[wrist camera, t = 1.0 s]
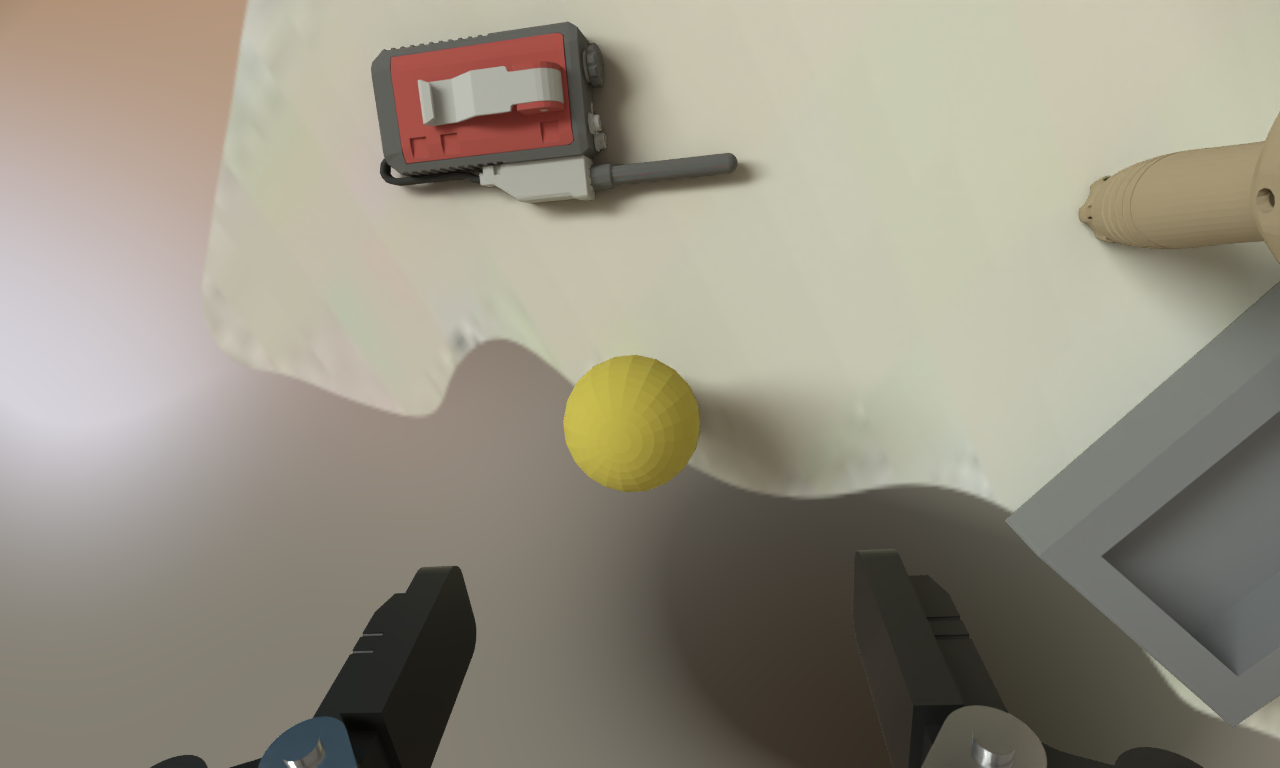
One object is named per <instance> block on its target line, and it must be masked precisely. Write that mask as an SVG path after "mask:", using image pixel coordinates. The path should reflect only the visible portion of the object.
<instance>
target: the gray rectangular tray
mask: <svg viewBox="0 0 1280 768" xmlns="http://www.w3.org/2000/svg"><path fill="white" fill-rule="evenodd" d="M1005 521H1006V522H1007V523H1008V524H1009V526H1010V527H1011V528H1012V529H1013V530H1014V531H1015V532H1016V533H1017V534H1018V535H1019V536H1020V537H1021V538H1022V539H1023V541H1024V542H1025V543H1026V544H1027V545H1028V546H1029V547H1030V548H1031V549H1032V550H1033V551H1034V552H1035V553H1036V554H1037V555H1038V557H1040V558H1041V559H1042V560H1043V561H1044V562H1045V563H1046V564H1048V565H1049V566H1050V567H1051V568H1052V569H1053V570H1055V572H1057V573H1058V574H1059V575H1060V576H1062V577H1063V579H1065V580H1066V581H1067V582H1068V583H1069V584H1070V585H1071V586H1073V587H1074V588H1075V589H1076V590H1077V591H1078V592H1079V593H1080V594H1082V595H1083V596H1084V597H1085V598H1086V599H1087V600H1089V601H1090V602H1091V603H1092V604H1093V605H1094V606H1095V607H1097V608H1098V609H1099V610H1100V611H1101V612H1102V613H1103V614H1104V615H1106V616H1107V617H1108V618H1109V619H1110V620H1111V621H1112V622H1114V623H1115V624H1116V625H1117V626H1118V627H1119V628H1120V629H1121V630H1123V631H1124V632H1125V633H1126V634H1127V635H1128V636H1129V637H1130V638H1132V639H1133V640H1134V641H1135V642H1136V643H1137V644H1138V645H1140V646H1141V647H1142V648H1143V649H1144V650H1145V651H1146V652H1147V653H1149V654H1150V655H1151V656H1152V657H1153V658H1154V659H1155V660H1157V661H1158V662H1159V663H1160V664H1161V665H1162V666H1163V667H1165V668H1166V669H1167V670H1168V671H1169V672H1170V673H1171V674H1172V675H1174V676H1175V677H1176V678H1177V679H1178V680H1179V681H1180V682H1182V683H1183V684H1184V685H1185V686H1186V687H1187V688H1188V689H1190V690H1191V691H1192V692H1193V693H1194V694H1195V695H1196V696H1197V697H1199V698H1200V699H1201V700H1202V701H1203V702H1204V703H1205V704H1207V705H1208V706H1209V707H1210V708H1211V709H1212V710H1213V711H1215V712H1216V713H1217V714H1218V715H1219V716H1220V717H1221V718H1222V719H1224V720H1225V721H1226V722H1227V723H1228V724H1229V725H1231V726H1232V727H1234V726H1236V725H1237V724H1239V723H1240V722H1242V721H1243V720H1245V719H1246V718H1247V717H1249V716H1250V715H1252V714H1253V713H1255V712H1256V711H1258V710H1259V709H1260V708H1262V707H1263V706H1265V705H1266V704H1268V703H1269V702H1271V701H1272V700H1273V699H1275V698H1276V697H1278V696H1279V695H1280V282H1279V283H1278V284H1276V285H1275V286H1274V287H1273V288H1272V289H1271V290H1270V291H1268V292H1267V293H1266V294H1265V295H1264V296H1263V297H1262V298H1260V299H1259V300H1258V301H1257V302H1256V303H1255V304H1253V305H1252V306H1251V307H1250V308H1249V309H1248V310H1247V311H1245V312H1244V313H1243V314H1242V315H1241V316H1240V317H1239V318H1237V319H1236V320H1235V321H1234V322H1233V323H1232V324H1230V325H1229V326H1228V327H1227V328H1226V329H1225V330H1224V331H1222V332H1221V333H1220V334H1219V335H1218V336H1217V337H1216V338H1214V339H1213V340H1212V341H1211V342H1210V343H1209V344H1207V345H1206V346H1205V347H1204V348H1203V349H1202V350H1201V351H1199V352H1198V353H1197V354H1196V355H1195V356H1194V357H1193V358H1191V359H1190V360H1189V361H1188V362H1187V363H1186V364H1184V365H1183V366H1182V367H1181V368H1180V369H1179V370H1178V371H1176V372H1175V373H1174V374H1173V375H1172V376H1171V377H1170V378H1168V379H1167V380H1166V381H1165V382H1164V383H1163V384H1161V385H1160V386H1159V387H1158V388H1157V389H1156V390H1155V391H1153V392H1152V393H1151V394H1150V395H1149V396H1148V397H1147V398H1145V399H1144V400H1143V401H1142V402H1141V403H1140V404H1138V405H1137V406H1136V407H1135V408H1134V409H1133V410H1132V411H1130V412H1129V413H1128V414H1127V415H1126V416H1125V417H1123V418H1122V419H1121V420H1120V421H1119V422H1118V423H1117V424H1115V425H1114V426H1113V427H1112V428H1111V429H1110V430H1109V431H1107V432H1106V433H1105V434H1104V435H1103V436H1102V437H1100V438H1099V439H1098V440H1097V441H1096V442H1095V443H1094V444H1092V445H1091V446H1090V447H1089V448H1088V449H1087V450H1086V451H1084V452H1083V453H1082V454H1081V455H1080V456H1079V457H1077V458H1076V459H1075V460H1074V461H1073V462H1072V463H1071V464H1069V465H1068V466H1067V467H1066V468H1065V469H1064V470H1063V471H1061V472H1060V473H1059V474H1058V475H1057V476H1056V477H1054V478H1053V479H1052V480H1051V481H1050V482H1049V483H1048V484H1046V485H1045V486H1044V487H1043V488H1042V489H1041V490H1040V491H1038V492H1037V493H1036V494H1035V495H1034V496H1033V497H1031V498H1030V499H1029V500H1028V501H1027V502H1026V503H1025V504H1023V505H1022V506H1021V507H1020V508H1019V509H1018V510H1017V511H1015V512H1014V513H1013V514H1012V515H1011V516H1010V517H1008V518H1007V519H1006V520H1005Z"/></svg>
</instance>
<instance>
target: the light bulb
mask: <svg viewBox="0 0 1280 768" xmlns="http://www.w3.org/2000/svg"><path fill="white" fill-rule="evenodd" d="M563 425H564V432H565V438H566V444H567V446H568V448H569V450H570V452H571V455H572V457H573V459H574V460H575V462H576V464H577V465H578V466H579V467H580V468H581V469H582V470H583V471H584V472H585V473H586V474H587V475H588V477H590V478H591V479H593V480H595V481H596V482H598V483H600V484H601V485H603V486H605V487H608V488H612V489H616V490H620V491H624V492H635V491H647V490H650V489H652V488H655V487H657V486H660V485H662V484H665V483H667V482H668V481H670V480H671V479H672V478H673V477H674V476H676V475H677V474H678V473H679V472H680V471H682V470H683V469H684V467H685V466H686V464H687V462H688V461H689V459H690V457H691V456H692V454H693V453H694V451H695V449H696V445H697V441H698V436H699V432H700V419H699V410H698V404H697V402H696V400H695V397H694V395H693V393H692V391H691V389H690V386H689V385H688V384H687V383H686V382H685V381H684V380H683V378H682V377H681V376H680V375H679V374H678V373H677V372H676V371H675V370H674V369H672V368H670V367H669V366H667V365H665V364H663V363H662V362H660V361H658V360H657V359H652V358H647V357H643V356H638V355H631V356H621V357H614V358H612V359H609V360H607V361H605V362H603V363H600V364H598V365H596V366H594V367H593V368H592V369H591V370H589V371H588V372H587V373H586V374H585V375H584V376H583V377H582V378H581V379H580V380H579V381H578V382H577V384H576V385H575V387H574V389H573V391H572V393H571V395H570V397H569V398H568V400H567V405H566V410H565V416H564V422H563Z"/></svg>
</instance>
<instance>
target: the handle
mask: <svg viewBox="0 0 1280 768" xmlns="http://www.w3.org/2000/svg"><path fill="white" fill-rule="evenodd" d="M1079 219H1080V221H1081V222H1085V223H1086V224H1088V225H1089V226H1090V227H1091V228H1092V229H1093V231H1094V232H1095V236H1096V238H1097V239H1100V240H1102V241H1106V242H1113V243H1115V242H1119V243H1122V244H1126V245H1131V246H1137V247H1145V248H1155V249H1182V248H1191V247H1201V246H1211V245H1221V244H1230V243H1242V242H1256V241H1265V243H1266V245H1267V246H1268V248H1269V249H1270V251H1271V252H1272V254H1273V255H1274V257H1275V258H1276V260H1277V261H1278V262H1279V263H1280V112H1279V114H1278V116H1277V118H1276V120H1275V122H1274V124H1273V126H1272V128H1271V130H1270V132H1269V134H1268V136H1267V138H1266V141H1262V142H1255V143H1248V144H1240V145H1231V146H1222V147H1214V148H1205V149H1196V150H1188V151H1181V152H1176V153H1171V154H1167V155H1162V156H1159V157H1155V158H1152V159H1149V160H1146V161H1143V162H1140V163H1137V164H1135V165H1132V166H1130V167H1128V168H1126V169H1124V170H1121V171H1120V172H1118V173H1116V174H1115V175H1113V176H1105V177H1103V178H1101V179H1099V180H1097V181H1096V182H1094V183H1093V184H1092V185H1091V186H1090V194H1089V197H1088V199H1087V201H1086V202H1085V204H1084V205H1083V206H1082V207H1081V208H1079Z"/></svg>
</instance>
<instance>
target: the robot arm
mask: <svg viewBox="0 0 1280 768" xmlns="http://www.w3.org/2000/svg"><path fill="white" fill-rule="evenodd" d="M853 623H854V630H855V637H856V641H857V645H858V649H859V652H860V656H861V659H862V662H863V666H864V669H865V673H866V676H867V679H868V683H869V686H870V690H871V693H872V697H873V700H874V704H875V707H876V710H877V714H878V717H879V721H880V724H881V728H882V731H883V734H884V737H885V741H886V744H887V748H888V751H889V755H890V758H891V762H892V765H893V768H1203V767H1202V766H1200V765H1198V764H1197V763H1195V762H1193V761H1191V760H1190V759H1188V758H1185V757H1183V756H1181V755H1179V754H1176V753H1173V752H1170V751H1167V750H1163V749H1158V748H1150V747H1139V748H1134V749H1130V750H1128V751H1126V752H1124V753H1123V754H1121V755H1120V756H1119V757H1118V759H1117V760H1116V763H1115V766H1113V765H1110V764H1106V763H1102V762H1098V761H1094V760H1090V759H1086V758H1083V757H1079V756H1075V755H1071V754H1068V753H1065V752H1061V751H1059V750H1056V749H1054V748H1051V747H1049V746H1047V745H1046V744H1044V743H1041V742H1040V740H1039V739H1038V737H1037V736H1036V735H1035V734H1034V732H1033V731H1032V730H1031V729H1030V728H1029V727H1028V726H1026V725H1025V724H1024V723H1023V722H1022V721H1020V720H1019V719H1017V718H1016V717H1014V716H1012V715H1010V714H1009V713H1008V711H1007V709H1006V708H1005V706H1004V704H1003V702H1002V700H1001V698H1000V696H999V694H998V692H997V690H996V688H995V686H994V684H993V682H992V680H991V678H990V676H989V674H988V671H987V669H986V667H985V665H984V663H983V662H982V660H981V658H980V655H979V653H978V652H977V649H976V647H975V645H974V644H973V641H972V639H970V638H969V633H968V631H967V629H966V627H965V625H964V623H963V621H961V620H960V615H959V613H958V611H957V609H956V607H955V605H954V603H953V601H952V599H951V597H950V595H949V594H948V593H947V592H946V591H945V590H944V589H943V588H942V587H941V586H939V585H938V584H937V583H936V582H935V581H934V580H933V579H932V578H931V577H929V576H928V575H920V576H908V574H907V572H906V569H905V567H904V565H903V563H902V560H901V558H900V556H899V554H898V552H897V550H895V549H884V550H859V551H856V552H855V558H854V587H853ZM475 644H476V623H475V618H474V615H473V611H472V607H471V604H470V600H469V596H468V593H467V589H466V585H465V582H464V578H463V574H462V572H461V569H460V568H459V567H458V566H441V567H422V568H420V569H419V570H418V571H417V573H416V575H415V577H414V578H413V580H412V582H411V584H410V586H409V587H408V589H407V591H406V593H397V594H394V595H393V596H392V597H391V598H390V599H389V600H388V601H387V602H385V603H384V604H383V605H382V606H381V607H380V608H379V609H378V610H377V611H376V612H375V613H374V615H373V616H372V618H371V620H370V621H369V623H368V625H367V627H366V628H365V630H364V632H363V637H360V638H359V640H358V642H357V644H356V645H355V647H354V649H353V654H351V655H349V657H348V659H347V661H346V662H345V664H344V666H343V667H342V669H341V671H340V673H339V674H338V676H337V678H336V679H335V681H334V683H333V684H332V686H331V688H330V690H329V691H328V693H327V695H326V696H325V698H324V700H323V702H322V703H321V705H320V707H319V708H318V710H317V712H316V714H315V715H314V717H313V718H311V719H308V720H305V721H302V722H300V723H298V724H296V725H294V726H293V727H291V728H289V729H288V730H286V731H285V732H284V733H282V734H281V735H280V736H279V737H278V738H276V739H275V741H274V742H273V743H272V744H271V745H270V746H269V747H268V749H267V750H266V751H265V753H264V755H263V756H262V758H260V759H257V760H254V761H251V762H247V763H244V764H240V765H237V766H234V767H230V768H431V765H432V762H433V760H434V757H435V754H436V752H437V749H438V746H439V744H440V741H441V738H442V736H443V733H444V730H445V728H446V725H447V722H448V720H449V717H450V714H451V712H452V709H453V706H454V704H455V701H456V698H457V696H458V693H459V690H460V688H461V685H462V682H463V679H464V677H465V674H466V672H467V669H468V666H469V664H470V661H471V658H472V656H473V653H474V649H475ZM151 768H208V767H207V765H206V763H205V762H204V761H203V760H202V759H201V758H199V757H197V756H193V755H183V756H177V757H173V758H170V759H167V760H164V761H162V762H160V763H158V764H156V765H154V766H152V767H151Z"/></svg>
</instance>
